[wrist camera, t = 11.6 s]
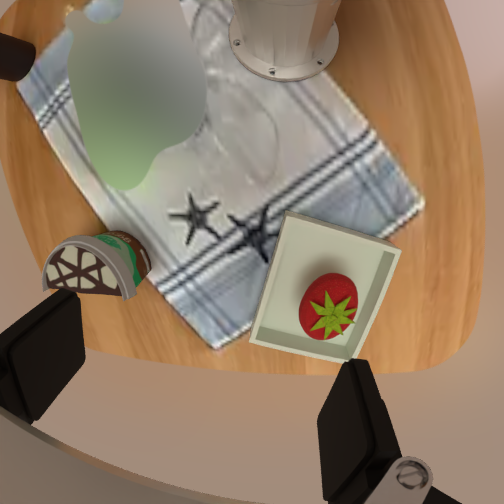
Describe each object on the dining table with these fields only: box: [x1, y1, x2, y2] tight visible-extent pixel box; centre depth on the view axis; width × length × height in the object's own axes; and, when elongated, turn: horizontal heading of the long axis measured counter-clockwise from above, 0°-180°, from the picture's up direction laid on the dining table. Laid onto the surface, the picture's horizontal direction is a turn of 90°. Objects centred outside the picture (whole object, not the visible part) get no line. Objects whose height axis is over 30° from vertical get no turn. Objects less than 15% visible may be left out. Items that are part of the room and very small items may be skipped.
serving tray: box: [249, 210, 402, 363], centre depth 35 cm, size 15×13×4 cm
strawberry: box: [298, 273, 358, 340], centre depth 32 cm, size 6×8×10 cm
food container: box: [42, 231, 151, 301], centre depth 33 cm, size 12×6×10 cm, turn 89°
